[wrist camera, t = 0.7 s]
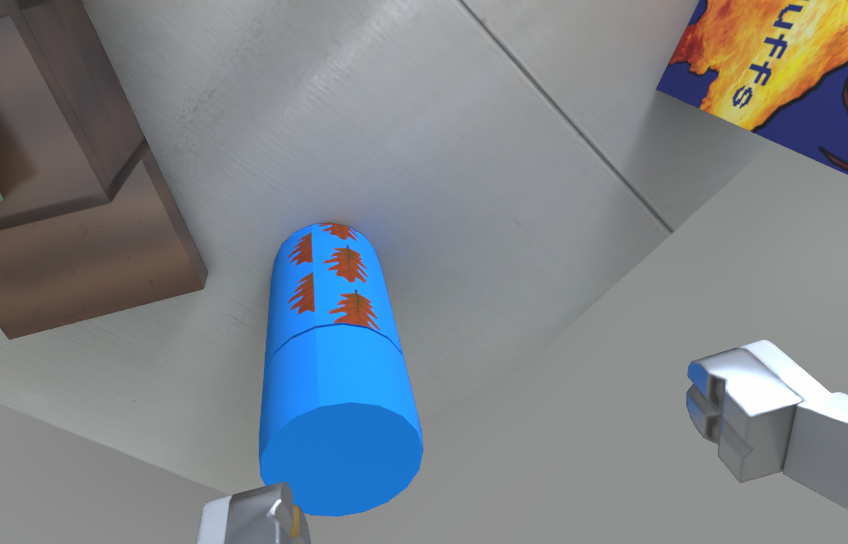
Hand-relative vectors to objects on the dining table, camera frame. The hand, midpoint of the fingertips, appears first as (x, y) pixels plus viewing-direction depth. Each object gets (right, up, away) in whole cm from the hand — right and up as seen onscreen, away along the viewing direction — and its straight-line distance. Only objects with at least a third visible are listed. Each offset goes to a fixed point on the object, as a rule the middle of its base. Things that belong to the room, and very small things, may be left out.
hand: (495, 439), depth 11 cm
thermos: (-11, +4, +47) cm, 49 cm away
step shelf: (-34, +12, +37) cm, 51 cm away
